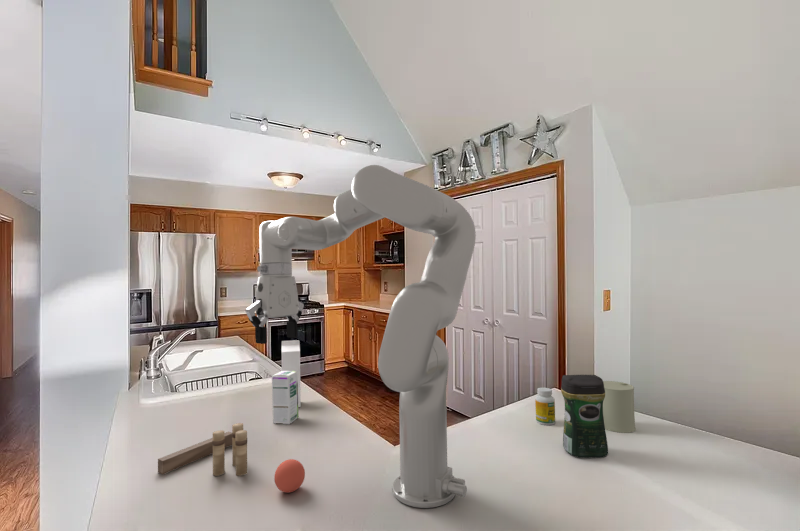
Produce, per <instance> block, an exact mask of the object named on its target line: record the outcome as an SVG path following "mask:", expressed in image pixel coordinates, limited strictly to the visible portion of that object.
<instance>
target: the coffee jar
mask: <svg viewBox="0 0 800 531" xmlns="http://www.w3.org/2000/svg"><path fill="white" fill-rule="evenodd" d="M603 381H604V380H603V378H601V377H600V376H598V375H597V374H563V375H562V378H561V388H560V390H561V394H562V397H563V400H564V421H563V433H562V434H563V436H562V447H563V449H564V451H565V452H566V453H567V454H568V455H570V456H573V457H575V458H579V459H580V458H581V459H601V458H603V459H604V458H605V457H607V456H608V455H609V444H608V439H607V432H606V429H605V425H604V417H603V401H604V398H605V388H604V383H603Z"/></svg>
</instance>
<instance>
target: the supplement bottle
mask: <svg viewBox="0 0 800 531" xmlns="http://www.w3.org/2000/svg"><path fill="white" fill-rule="evenodd" d="M536 394H537V395H536V396H535V397H534V398H535V400H534V402H535V404H534V405H535V421H536V423H537V424H539V425H542V426H553V425H555V424H556V403H555V398H554V396H552V394H553V390H552V389H551V388H548V387H538V388H537V393H536Z"/></svg>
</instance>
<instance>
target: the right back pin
mask: <svg viewBox="0 0 800 531" xmlns="http://www.w3.org/2000/svg"><path fill="white" fill-rule="evenodd" d="M231 428H232V431H231V432H232V445H231V448H232V452H231V453H232V454H231V455H232V464H231V465H232V466H233V467H236V445H235V439H236V432H237V431H241V430H244V423H241V422H239V423H234V424H232V426H231Z"/></svg>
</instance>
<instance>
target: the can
mask: <svg viewBox="0 0 800 531" xmlns="http://www.w3.org/2000/svg"><path fill="white" fill-rule="evenodd" d="M603 383H604V388H605V398H604V401H603V417H604V425H605V431H610V432H615V433H621V434H629V433H633V432H635V431H636V429H637V428H636V422H635V421H636V420H635V418H636V417H635V387H634V385H632V384H629V383H626V382H622V381H621V382H620V381H615V380H613V381H612V380H606V381H605V380H603Z"/></svg>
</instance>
